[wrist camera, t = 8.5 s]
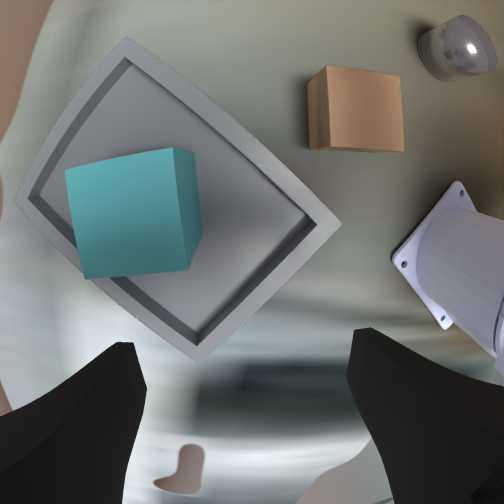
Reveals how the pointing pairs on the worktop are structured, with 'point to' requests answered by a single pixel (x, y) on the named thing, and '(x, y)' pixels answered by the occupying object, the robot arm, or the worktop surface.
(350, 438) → the worktop surface
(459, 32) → the shiny silver metal cylinder
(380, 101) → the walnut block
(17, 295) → the worktop surface
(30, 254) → the worktop surface
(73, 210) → the teal block
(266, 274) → the grey tray
